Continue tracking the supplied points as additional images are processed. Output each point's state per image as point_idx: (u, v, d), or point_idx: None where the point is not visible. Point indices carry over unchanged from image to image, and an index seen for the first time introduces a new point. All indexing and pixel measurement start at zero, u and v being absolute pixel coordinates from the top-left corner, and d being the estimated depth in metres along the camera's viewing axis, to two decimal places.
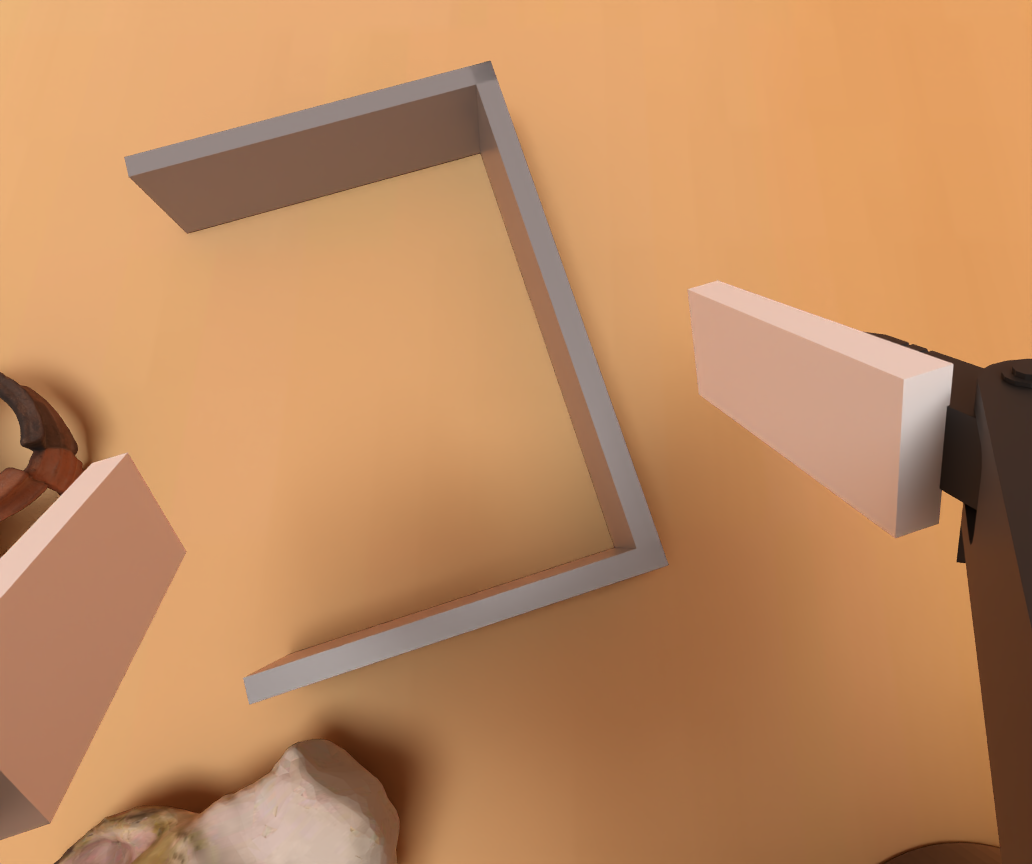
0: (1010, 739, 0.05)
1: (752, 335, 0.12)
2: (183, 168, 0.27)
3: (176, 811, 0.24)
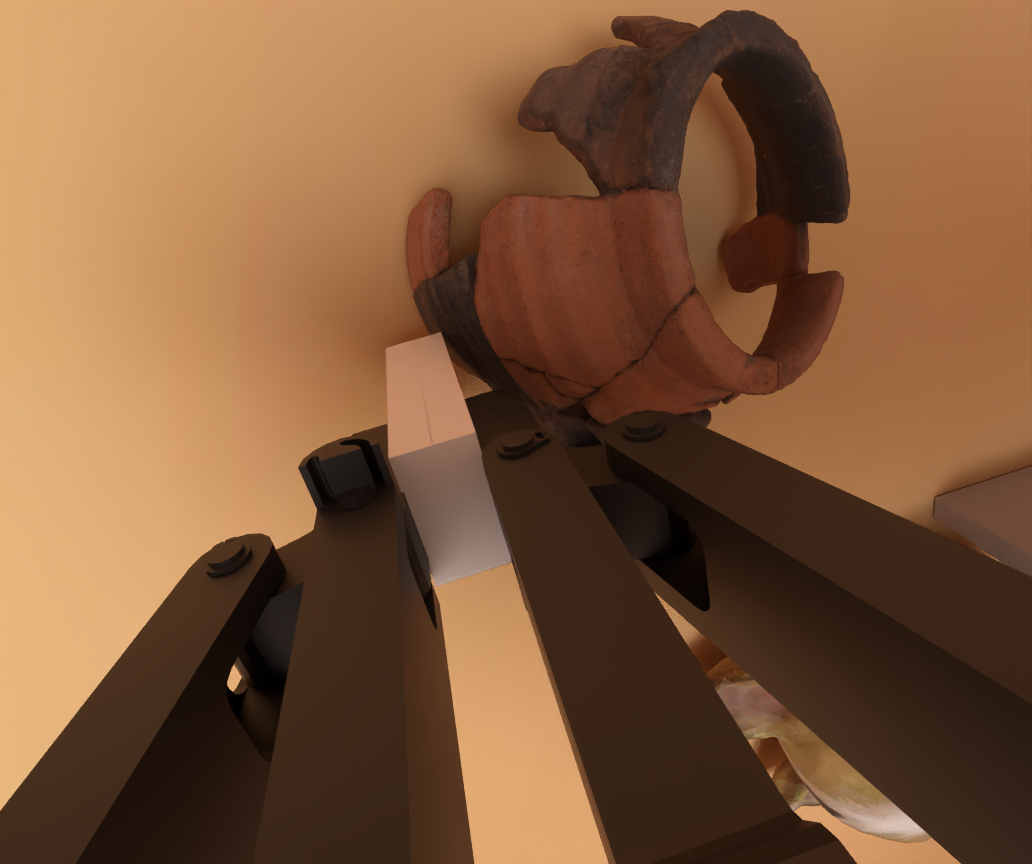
0: (586, 786, 0.06)
1: None
2: None
3: None
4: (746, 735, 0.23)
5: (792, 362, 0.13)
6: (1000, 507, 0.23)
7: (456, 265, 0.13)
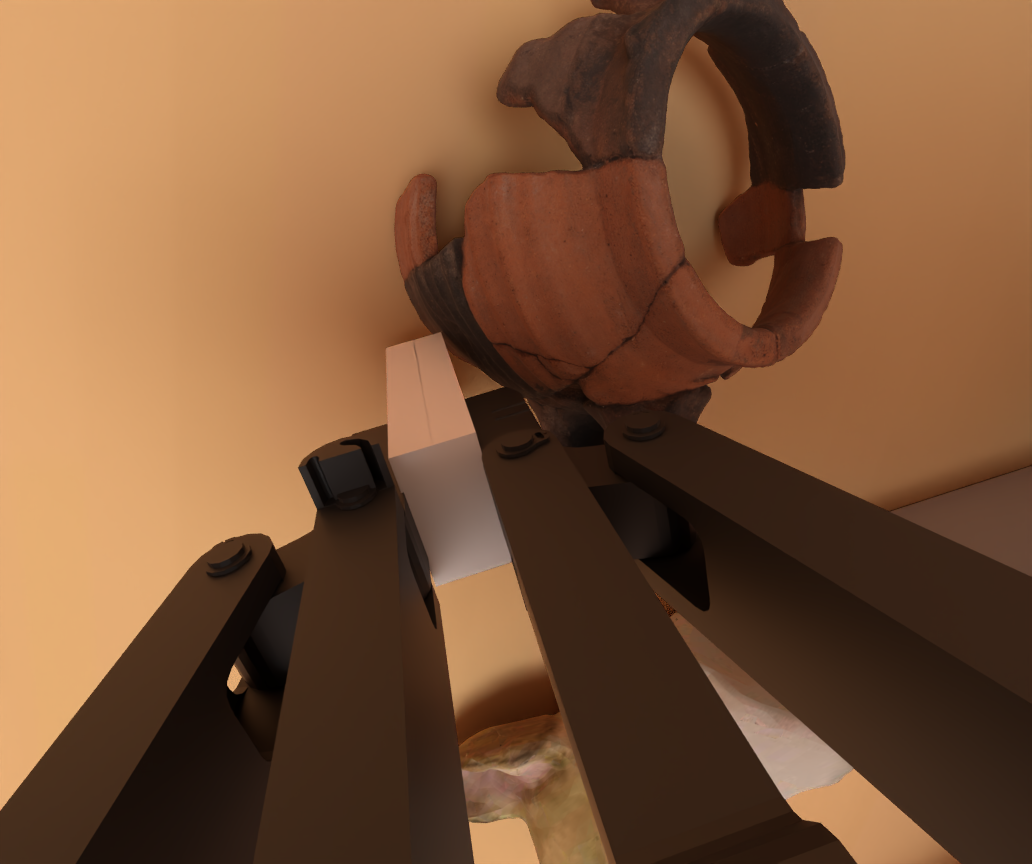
0: (585, 785, 0.06)
1: None
2: None
3: (556, 735, 0.21)
4: (491, 817, 0.22)
5: (791, 332, 0.13)
6: None
7: (442, 250, 0.13)
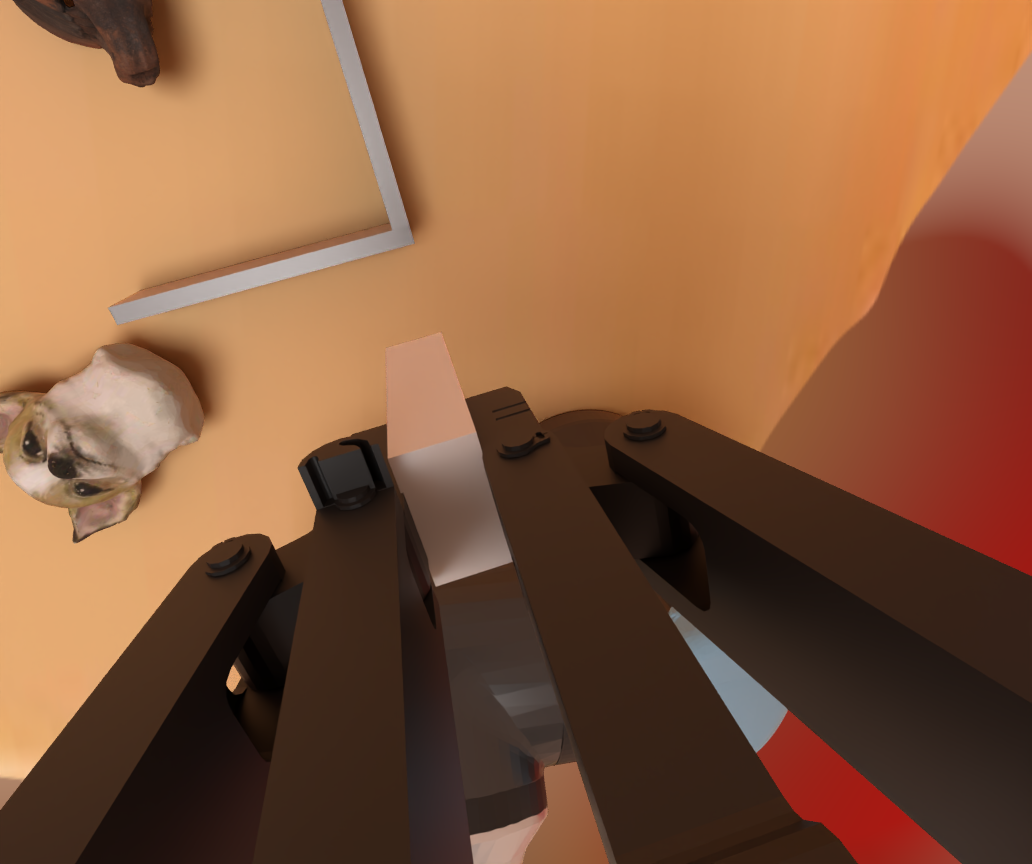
0: (586, 785, 0.06)
1: None
2: None
3: (31, 393, 0.36)
4: None
5: None
6: (153, 289, 0.36)
7: None
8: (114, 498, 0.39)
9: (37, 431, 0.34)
